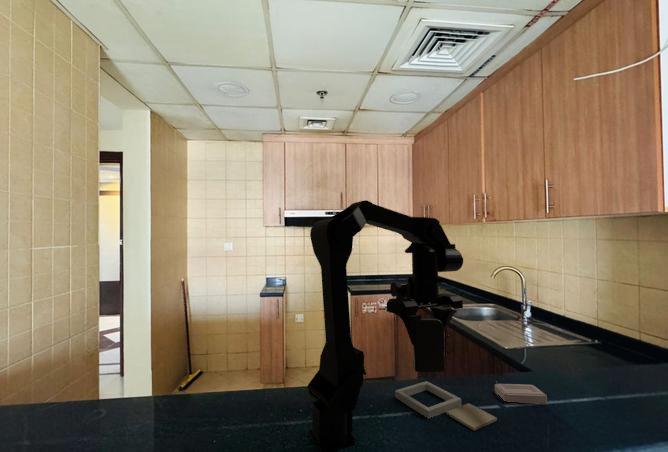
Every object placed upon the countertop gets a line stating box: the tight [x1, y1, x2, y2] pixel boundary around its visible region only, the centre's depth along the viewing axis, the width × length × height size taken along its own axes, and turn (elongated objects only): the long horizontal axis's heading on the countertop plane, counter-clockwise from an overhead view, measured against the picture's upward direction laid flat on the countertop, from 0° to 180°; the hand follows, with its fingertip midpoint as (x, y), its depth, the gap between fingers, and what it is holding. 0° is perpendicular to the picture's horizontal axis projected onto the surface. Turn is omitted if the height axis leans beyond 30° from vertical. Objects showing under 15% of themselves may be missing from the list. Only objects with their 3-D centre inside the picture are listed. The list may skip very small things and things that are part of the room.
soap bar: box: [494, 383, 548, 405], centre depth 68 cm, size 5×9×2 cm, turn 86°
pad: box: [445, 402, 498, 431], centre depth 60 cm, size 7×6×1 cm
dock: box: [394, 380, 463, 420], centre depth 66 cm, size 10×10×2 cm
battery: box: [412, 317, 446, 373], centre depth 67 cm, size 7×4×11 cm, turn 91°
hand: (426, 342), depth 67 cm, fingers closed on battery, 7 cm apart
